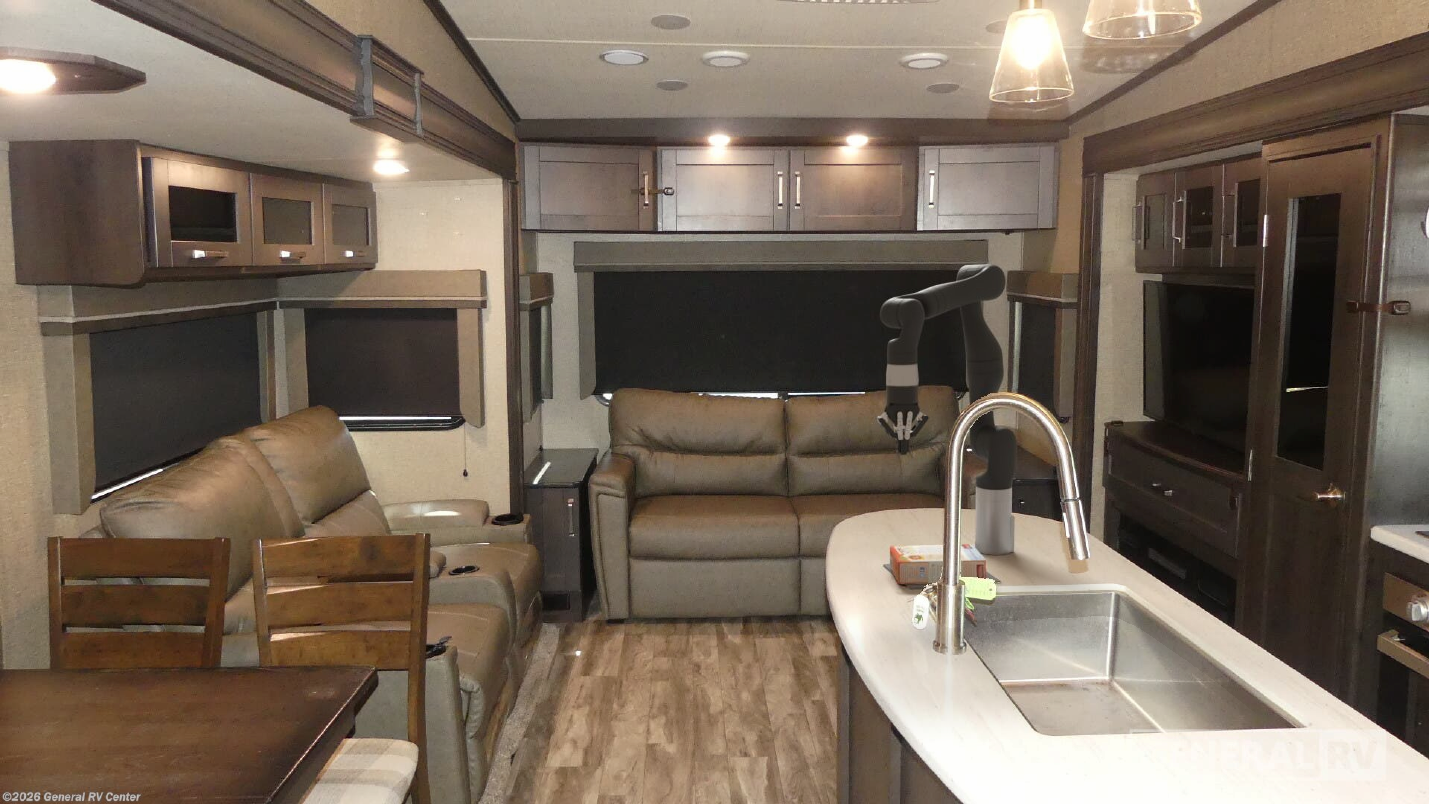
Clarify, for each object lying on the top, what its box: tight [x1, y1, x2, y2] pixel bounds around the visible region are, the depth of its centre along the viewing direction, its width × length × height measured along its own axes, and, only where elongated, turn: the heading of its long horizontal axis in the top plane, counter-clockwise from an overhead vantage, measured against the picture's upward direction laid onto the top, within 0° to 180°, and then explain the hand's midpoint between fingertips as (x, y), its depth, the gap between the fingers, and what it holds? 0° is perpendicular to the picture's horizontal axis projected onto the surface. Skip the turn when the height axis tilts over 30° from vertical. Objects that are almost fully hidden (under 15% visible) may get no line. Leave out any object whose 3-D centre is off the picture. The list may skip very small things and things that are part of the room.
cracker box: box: [889, 543, 987, 585], centre depth 258 cm, size 14×6×21 cm
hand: (902, 454), depth 256 cm, fingers closed
